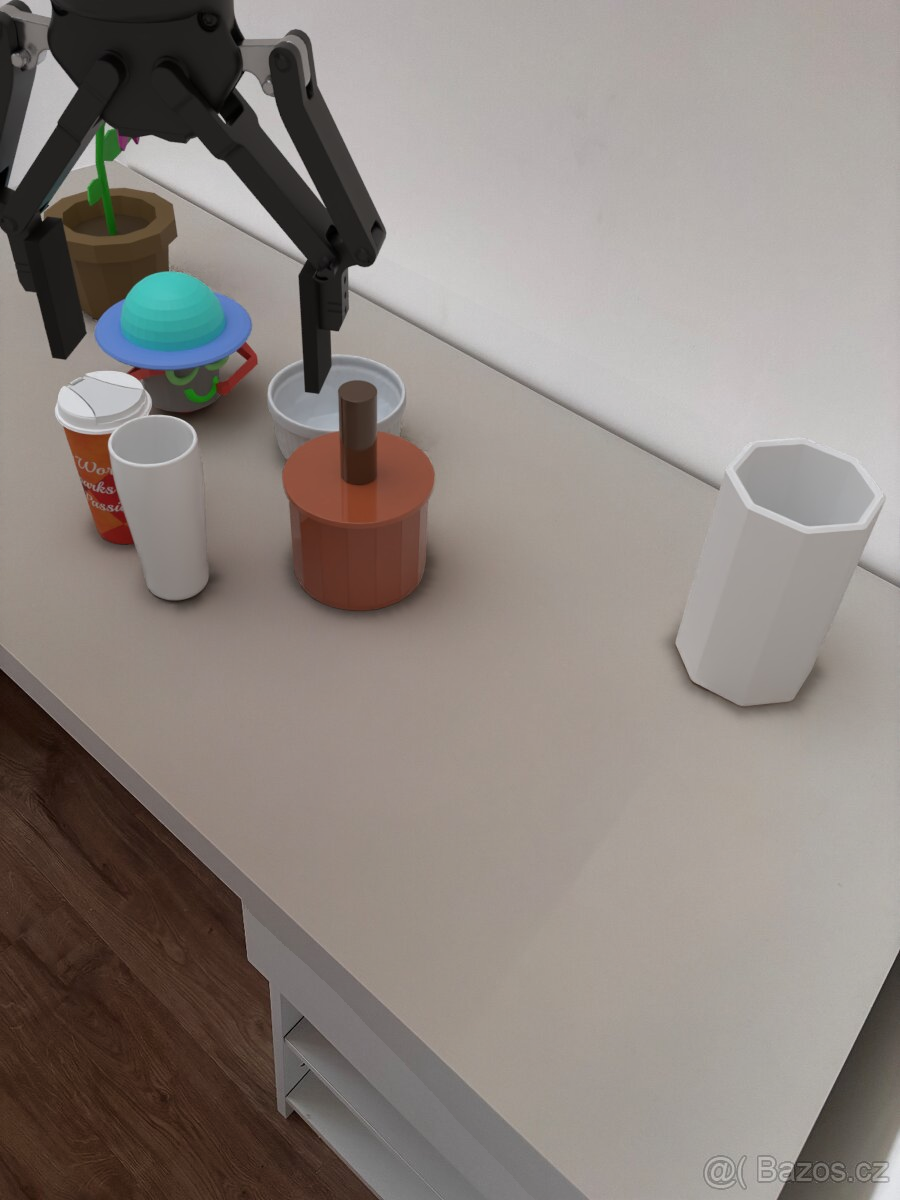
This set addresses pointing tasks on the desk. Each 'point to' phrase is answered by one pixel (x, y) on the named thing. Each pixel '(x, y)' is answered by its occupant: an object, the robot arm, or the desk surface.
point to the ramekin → (330, 400)
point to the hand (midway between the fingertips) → (193, 362)
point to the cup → (775, 567)
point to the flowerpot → (114, 232)
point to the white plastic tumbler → (163, 501)
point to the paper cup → (100, 439)
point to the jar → (359, 560)
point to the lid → (358, 469)
